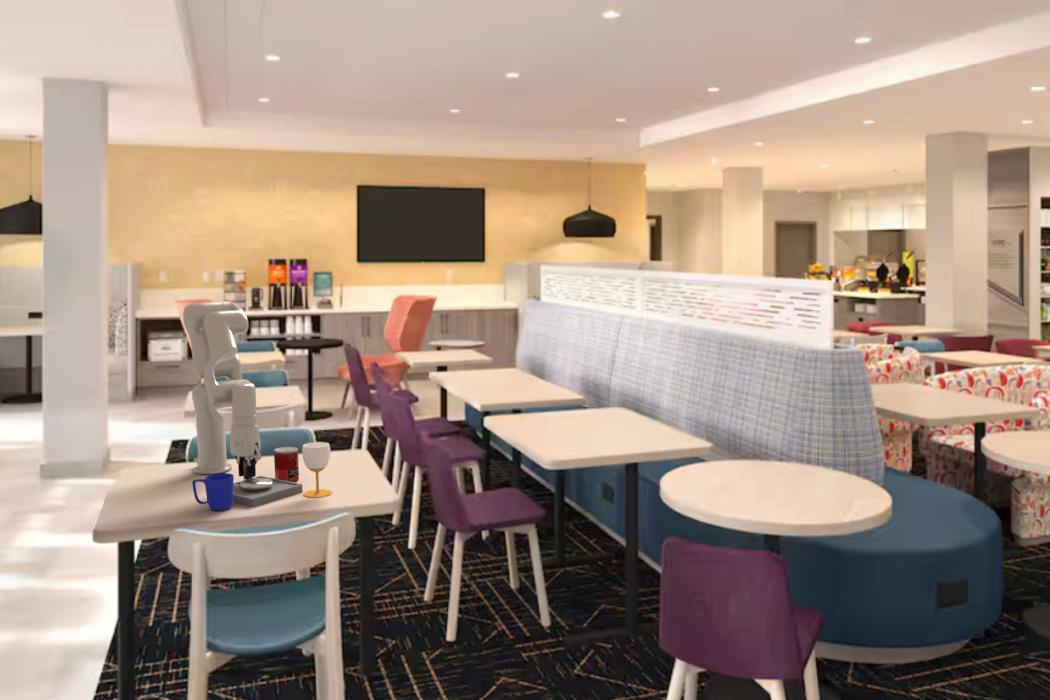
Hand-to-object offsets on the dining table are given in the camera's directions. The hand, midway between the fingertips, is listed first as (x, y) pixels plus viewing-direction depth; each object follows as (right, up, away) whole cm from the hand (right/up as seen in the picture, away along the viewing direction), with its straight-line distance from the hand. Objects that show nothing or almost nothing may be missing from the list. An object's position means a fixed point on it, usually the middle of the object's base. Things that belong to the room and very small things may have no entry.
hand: (247, 475), depth 289 cm
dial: (+3, -2, -4) cm, 6 cm away
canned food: (+10, -4, +12) cm, 16 cm away
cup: (+24, -5, -5) cm, 25 cm away
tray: (+5, -5, -5) cm, 9 cm away
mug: (-4, -7, -20) cm, 22 cm away
